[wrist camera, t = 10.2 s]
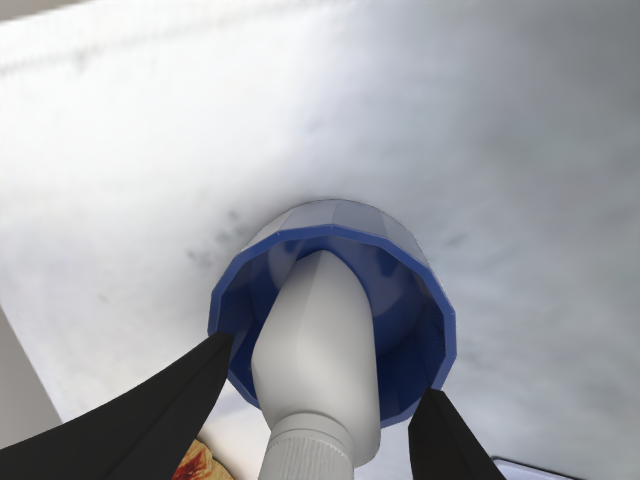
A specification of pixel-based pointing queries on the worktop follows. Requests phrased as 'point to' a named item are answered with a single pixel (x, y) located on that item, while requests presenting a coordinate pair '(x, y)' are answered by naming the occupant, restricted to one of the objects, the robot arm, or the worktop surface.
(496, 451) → the worktop surface
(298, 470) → the eye dropper bottle
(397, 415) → the blue bowl
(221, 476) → the croissant
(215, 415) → the worktop surface
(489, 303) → the worktop surface
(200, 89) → the worktop surface
